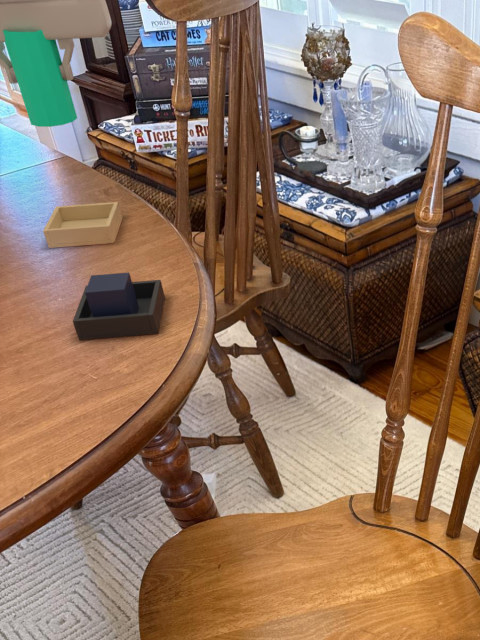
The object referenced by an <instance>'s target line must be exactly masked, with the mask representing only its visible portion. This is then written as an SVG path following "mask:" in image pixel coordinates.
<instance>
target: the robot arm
mask: <svg viewBox="0 0 480 640" xmlns="http://www.w3.org/2000/svg"><path fill="white" fill-rule="evenodd" d="M112 24H113V23H112V18H111V14H110V11H109V8H108V4H107V1H106V0H0V66H1V67H2V68H3V69H4V72H5V74H6V77H7V81H8V82H9V84H11V85H12V84H18V82H17V79H16V75H15V72H14V69H13V66H12V63H11V60H10V58H9V57H8V56H7V55H6V54H5V53H4V50H5V49H6V44H5V36H4V33H3V30H7V31H10V32H36V31H38V30H42V31H43V34H44V36H45V38H46V39H47V40H56V42H57V45H58V49H59V50H62V51H64V53H63V57H62V60H61V61H62V64H61V65H59V68H60V72H61V75H62V79H63V80H64V81H67V82H68V81H73V80H74V73H73V69H72V65H71V62H72V57H73V53H74V50H75V49H74V48H75V42H74V40H75V39H92V38H93V39H95V38H104V37H106V36H107V35H108V33H109V32H110V30H111V28H112Z"/></svg>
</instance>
